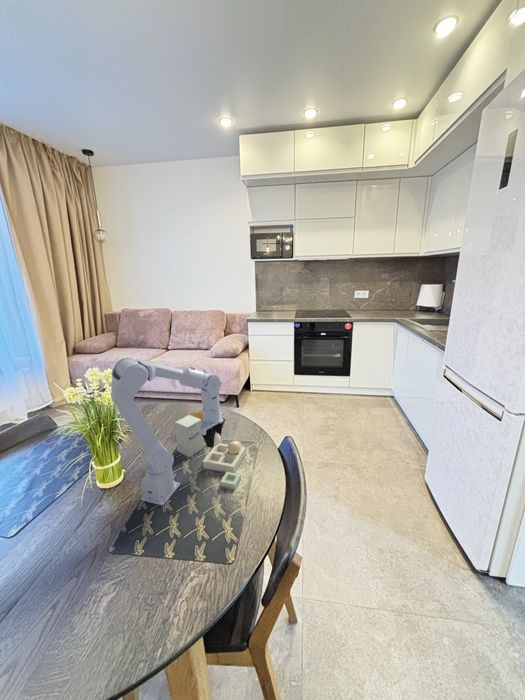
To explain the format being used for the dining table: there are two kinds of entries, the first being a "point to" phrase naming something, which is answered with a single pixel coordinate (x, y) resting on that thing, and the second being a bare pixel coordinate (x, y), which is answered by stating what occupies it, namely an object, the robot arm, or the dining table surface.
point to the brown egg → (234, 447)
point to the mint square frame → (230, 480)
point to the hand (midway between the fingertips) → (213, 442)
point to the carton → (223, 459)
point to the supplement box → (188, 435)
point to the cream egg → (217, 439)
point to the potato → (198, 415)
